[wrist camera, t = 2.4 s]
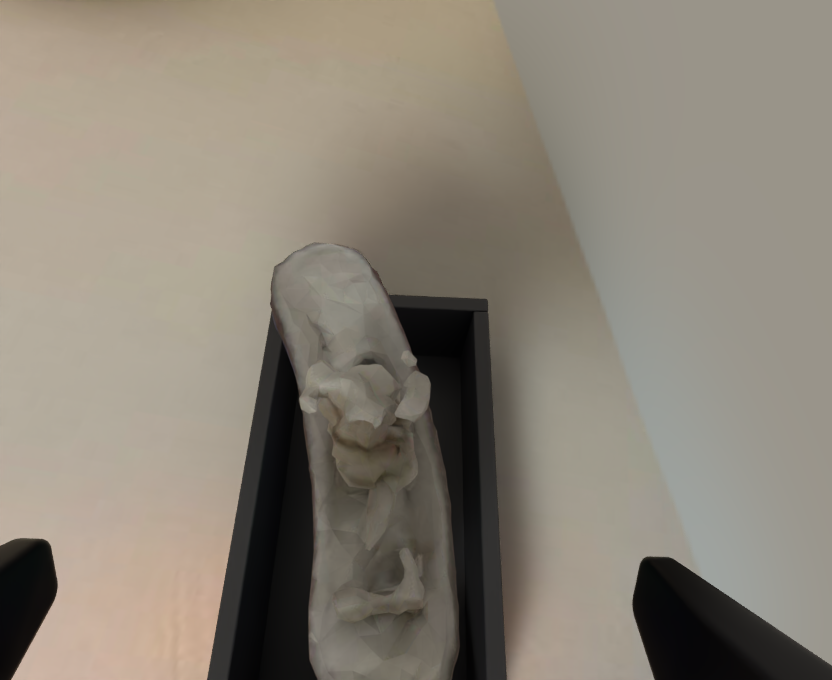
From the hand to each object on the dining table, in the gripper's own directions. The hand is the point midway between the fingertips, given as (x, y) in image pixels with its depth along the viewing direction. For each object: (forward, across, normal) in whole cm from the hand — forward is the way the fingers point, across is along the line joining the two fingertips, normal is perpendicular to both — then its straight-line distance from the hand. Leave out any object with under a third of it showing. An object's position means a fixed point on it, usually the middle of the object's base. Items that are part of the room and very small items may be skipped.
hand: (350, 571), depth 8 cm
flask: (+8, 0, +5) cm, 10 cm away
